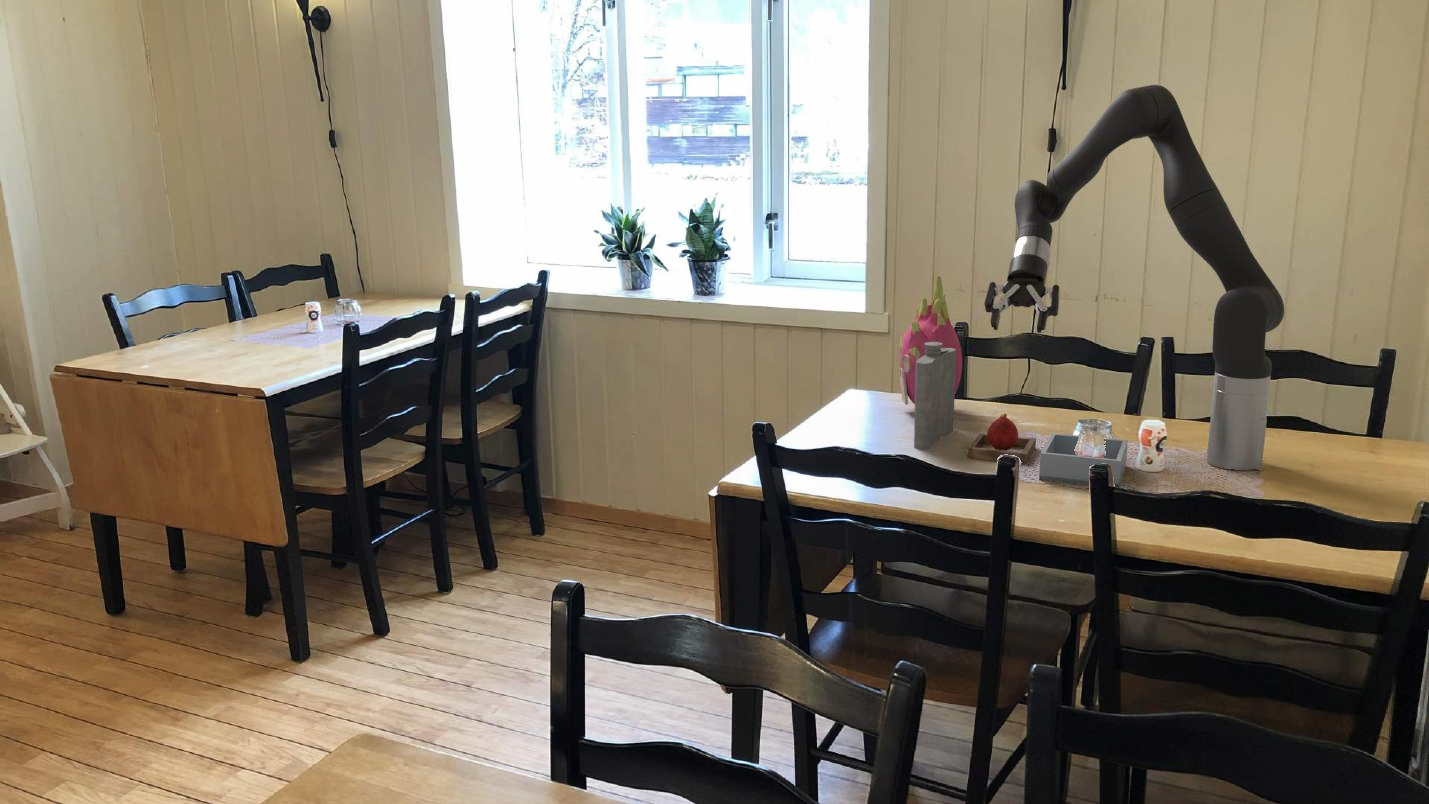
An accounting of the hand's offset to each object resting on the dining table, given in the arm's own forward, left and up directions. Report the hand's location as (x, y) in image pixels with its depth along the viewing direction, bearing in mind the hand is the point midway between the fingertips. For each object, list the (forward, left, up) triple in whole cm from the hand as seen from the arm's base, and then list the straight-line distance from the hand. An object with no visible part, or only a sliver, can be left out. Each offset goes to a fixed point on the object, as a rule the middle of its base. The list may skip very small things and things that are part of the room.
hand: (1017, 329), depth 219 cm
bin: (-16, +18, -22) cm, 33 cm away
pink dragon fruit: (+21, -15, -23) cm, 34 cm away
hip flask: (+15, +6, -23) cm, 28 cm away
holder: (0, +11, -22) cm, 25 cm away
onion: (0, +11, -23) cm, 25 cm away
